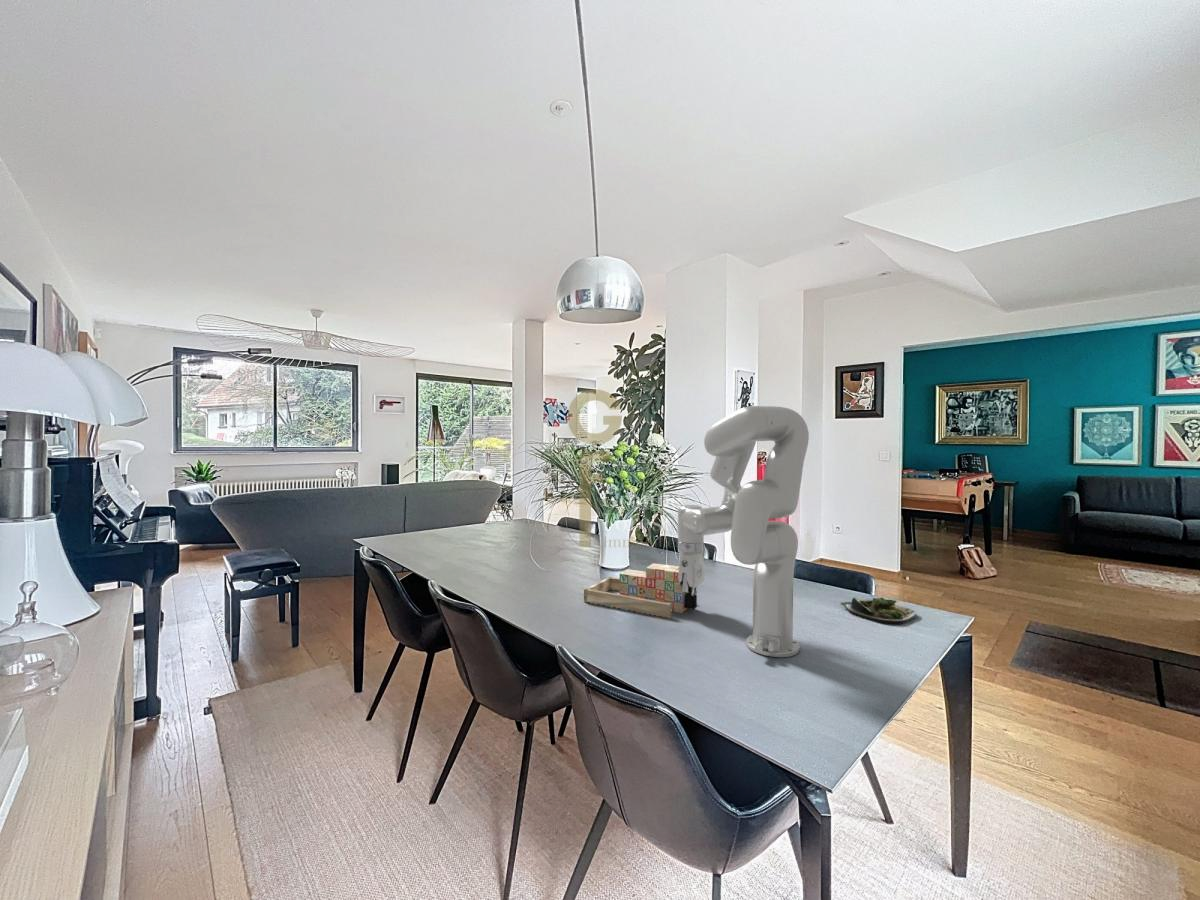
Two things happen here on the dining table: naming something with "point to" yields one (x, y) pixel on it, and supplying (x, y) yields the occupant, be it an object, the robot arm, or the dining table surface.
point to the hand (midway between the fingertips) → (690, 607)
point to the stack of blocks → (654, 585)
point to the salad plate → (879, 610)
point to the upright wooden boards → (624, 599)
